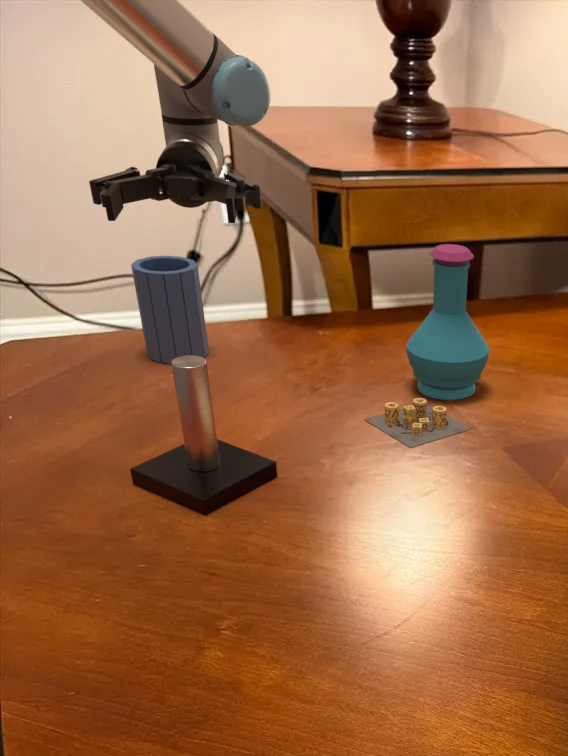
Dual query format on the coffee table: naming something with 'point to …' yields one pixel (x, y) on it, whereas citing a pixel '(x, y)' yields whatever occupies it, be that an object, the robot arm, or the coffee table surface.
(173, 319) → the blue sleeve
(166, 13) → the robot arm
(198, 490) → the peg on square base
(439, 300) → the perfume bottle
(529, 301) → the coffee table surface
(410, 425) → the dice set
